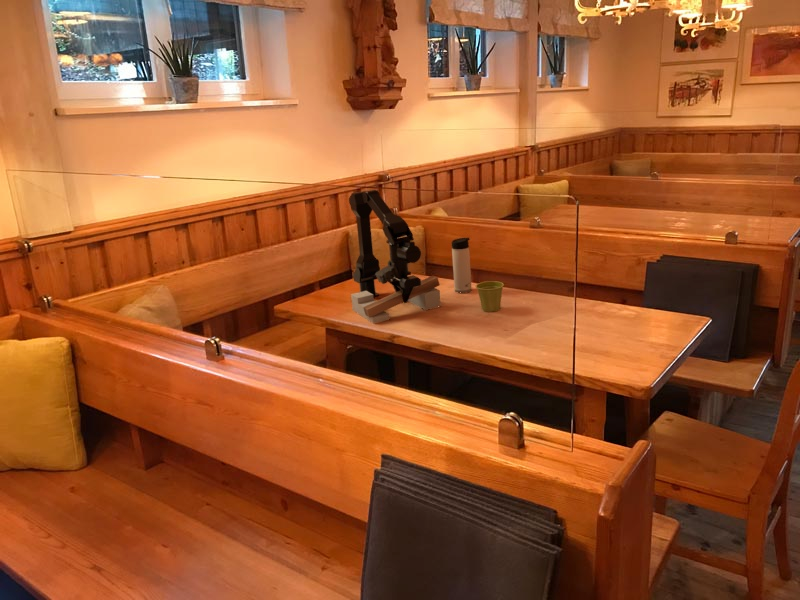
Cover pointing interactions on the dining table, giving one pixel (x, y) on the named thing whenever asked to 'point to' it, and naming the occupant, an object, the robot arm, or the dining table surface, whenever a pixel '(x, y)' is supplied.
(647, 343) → the dining table surface
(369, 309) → the walnut bar
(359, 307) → the notch rack
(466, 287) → the travel mug
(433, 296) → the notch rack
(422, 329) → the dining table surface
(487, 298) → the plant pot
